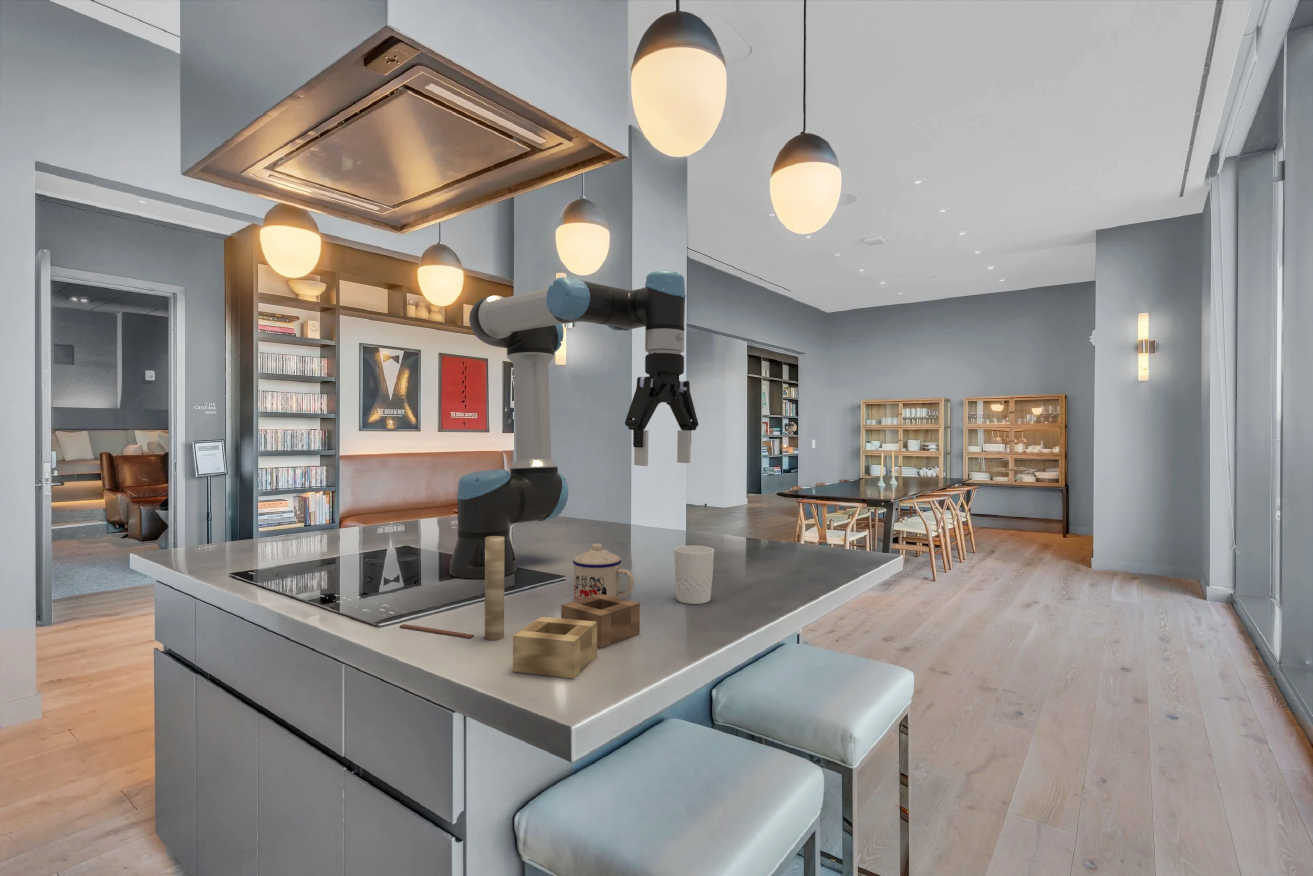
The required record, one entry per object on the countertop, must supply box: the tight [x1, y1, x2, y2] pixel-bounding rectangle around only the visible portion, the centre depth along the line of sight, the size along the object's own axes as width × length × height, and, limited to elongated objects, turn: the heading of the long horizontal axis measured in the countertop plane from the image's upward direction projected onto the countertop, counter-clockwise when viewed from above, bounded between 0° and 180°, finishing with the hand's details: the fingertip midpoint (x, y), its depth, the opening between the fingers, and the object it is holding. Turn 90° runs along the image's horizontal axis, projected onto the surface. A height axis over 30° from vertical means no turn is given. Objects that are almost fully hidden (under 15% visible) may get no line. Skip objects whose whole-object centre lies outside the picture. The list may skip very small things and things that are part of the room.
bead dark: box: [560, 594, 641, 649], centre depth 102 cm, size 9×9×5 cm
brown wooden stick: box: [399, 623, 475, 639], centre depth 103 cm, size 14×1×1 cm, turn 69°
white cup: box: [673, 545, 715, 605], centre depth 123 cm, size 8×8×10 cm
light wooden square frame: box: [512, 616, 598, 680], centre depth 89 cm, size 9×9×5 cm
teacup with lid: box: [572, 543, 635, 601], centre depth 118 cm, size 12×9×12 cm
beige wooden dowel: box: [484, 536, 505, 641], centre depth 100 cm, size 3×3×16 cm
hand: (663, 464), depth 121 cm, fingers open, 13 cm apart
